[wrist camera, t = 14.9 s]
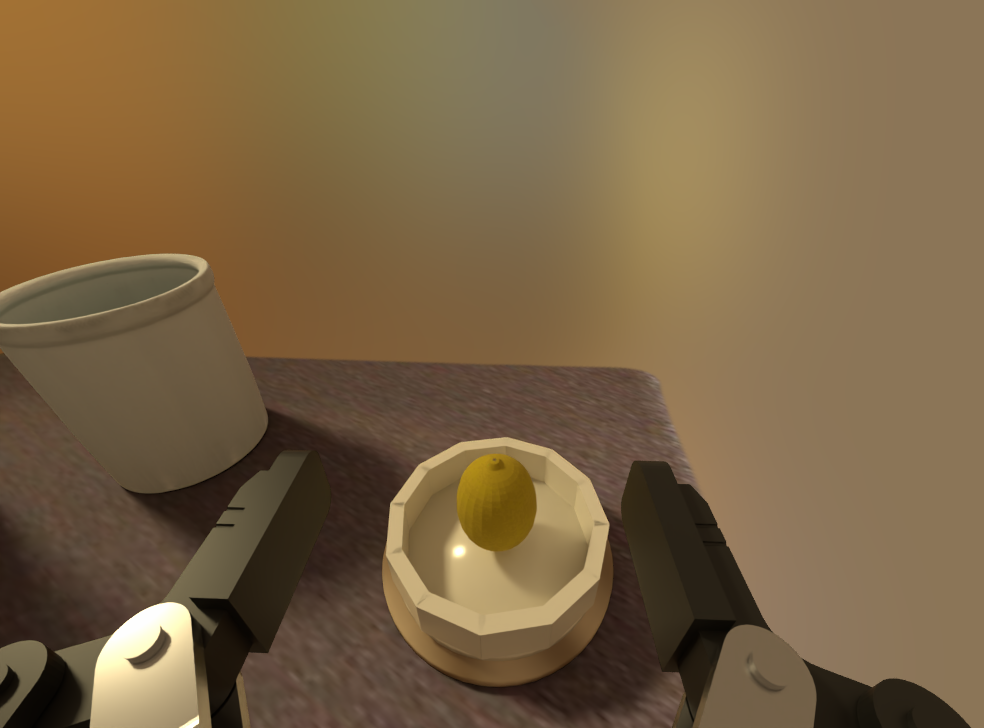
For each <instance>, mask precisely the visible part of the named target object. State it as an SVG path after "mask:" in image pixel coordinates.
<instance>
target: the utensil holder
mask: <svg viewBox="0 0 984 728" xmlns="http://www.w3.org/2000/svg"><path fill="white" fill-rule="evenodd" d="M0 348H1V349H2V351H3V352H4V353H5V354H6V356H7V357H8V358H9V359H10V360H11V362H12V363H13V364H14V365H15V366H16V368H17V369H18V370H19V371H20V372H21V374H22V375H23V376H24V377H25V378H26V379H27V381H28V382H29V383H30V384H31V385H32V387H33V388H34V389H35V390H36V391H37V392H38V394H39V395H40V396H41V397H42V398H43V399H44V400H45V402H46V403H47V404H48V405H49V406H50V407H51V408H52V410H53V411H54V412H55V413H56V414H57V416H58V417H59V418H60V419H61V420H62V422H63V423H64V424H65V425H66V426H67V427H68V429H69V430H70V431H71V432H72V433H73V434H74V436H75V437H76V438H77V439H78V440H79V441H80V442H81V444H82V445H83V446H84V447H85V448H86V449H87V450H88V451H89V453H90V454H91V455H92V456H93V457H94V458H95V459H96V460H97V461H98V462H99V463H100V464H101V466H102V467H103V468H104V469H105V470H106V471H107V472H108V473H109V474H110V475H111V477H112V478H113V479H114V480H115V481H116V482H117V483H118V484H119V485H121V486H122V487H124V488H125V489H127V490H130V491H133V492H138V493H162V492H167V491H172V490H177V489H181V488H184V487H188V486H191V485H194V484H197V483H199V482H202V481H204V480H206V479H208V478H211V477H213V476H215V475H217V474H219V473H221V472H222V471H224V470H226V469H228V468H229V467H231V466H232V465H234V464H235V463H237V462H238V461H239V460H241V459H242V458H243V457H244V456H246V455H247V454H248V453H249V452H250V451H251V450H252V449H253V448H254V447H255V446H256V445H257V444H258V442H259V441H260V440H261V438H262V437H263V435H264V433H265V431H266V429H267V425H268V415H267V411H266V408H265V406H264V403H263V400H262V398H261V395H260V392H259V390H258V387H257V384H256V381H255V379H254V376H253V374H252V371H251V369H250V366H249V364H248V362H247V359H246V357H245V355H244V352H243V350H242V348H241V346H240V343H239V341H238V339H237V336H236V334H235V331H234V329H233V326H232V324H231V322H230V319H229V317H228V315H227V313H226V310H225V308H224V306H223V304H222V301H221V299H220V297H219V295H218V292H217V290H216V288H215V285H214V275H213V272H212V270H211V267H210V266H209V264H208V263H207V262H206V261H205V260H204V259H202V258H200V257H196V256H192V255H184V254H151V255H142V256H133V257H125V258H119V259H112V260H107V261H101V262H96V263H91V264H87V265H82V266H78V267H73V268H70V269H66V270H62V271H58V272H55V273H51V274H48V275H45V276H42V277H39V278H35V279H33V280H30V281H27V282H24V283H22V284H19V285H16V286H14V287H11V288H9V289H7V290H5V291H2V292H0Z"/></svg>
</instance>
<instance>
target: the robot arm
mask: <svg viewBox="0 0 984 728" xmlns="http://www.w3.org/2000/svg"><path fill="white" fill-rule="evenodd" d="M330 503H331V489H330V485H329V483H328V480H327V477H326V474H325V471H324V468H323V465H322V462H321V459H320V456H319V454H318V452H316V451H313V450H284V451H282V452H281V453H280V454H279V455H278V457H277V458H276V460H275V462H274V463H273V465H272V466H271V468H270V470H269V471H259V472H258V473H257V474H256V475H254V476H253V477H252V478H251V479H250V480H249V481H247V482H246V483H245V484H244V485H243V486H242V487H240V489H239V490H238V492H237V493H236V495H235V496H234V498H233V499H232V501H231V502H230V504H229V505H228V507H227V511H224V513H223V514H222V516H221V517H220V519H219V520H218V521H217V523H216V527H215V528H213V529H212V530H211V532H210V533H209V535H208V536H207V538H206V539H205V541H204V542H203V544H202V545H201V547H200V548H199V550H198V551H197V553H196V554H195V555H194V557H193V558H192V560H191V561H190V563H189V564H188V566H187V567H186V569H185V570H184V572H183V573H182V575H181V576H180V578H179V579H178V581H177V582H176V584H175V585H174V587H173V588H172V589H171V591H170V592H169V594H168V595H167V596H166V598H165V599H164V600H163V601H162V602H161V603H160V604H158V605H155V606H152V607H150V608H148V609H146V610H144V611H142V612H140V613H138V614H137V615H135V616H134V617H132V618H131V619H130V620H128V621H127V622H126V623H125V624H123V625H122V626H121V627H120V628H119V629H118V630H117V631H116V632H115V633H114V634H113V635H110V636H106V637H103V638H100V639H96V640H93V641H89V642H86V643H82V644H79V645H75V646H72V647H68V648H65V649H62V650H58V651H55V652H54V651H52V650H51V649H49V648H48V647H46V646H45V645H44V644H42V643H41V642H38V641H33V640H27V641H20V642H16V643H13V644H10V645H7V646H5V647H3V648H1V649H0V728H251V727H250V721H249V715H248V708H247V702H246V696H245V690H244V683H243V677H242V673H241V671H240V670H241V668H242V666H243V664H244V661H245V659H246V657H247V655H248V653H249V652H254V653H268V652H269V649H270V647H271V645H272V642H273V640H274V638H275V635H276V633H277V631H278V628H279V626H280V624H281V621H282V619H283V617H284V614H285V612H286V610H287V607H288V605H289V603H290V600H291V598H292V596H293V593H294V591H295V589H296V586H297V584H298V582H299V579H300V577H301V575H302V572H303V570H304V568H305V565H306V563H307V561H308V558H309V556H310V554H311V551H312V549H313V547H314V544H315V542H316V540H317V537H318V535H319V533H320V530H321V528H322V526H323V523H324V521H325V519H326V516H327V514H328V511H329V508H330ZM621 514H622V521H623V526H624V529H625V533H626V537H627V541H628V544H629V548H630V552H631V556H632V560H633V563H634V567H635V571H636V575H637V578H638V582H639V586H640V590H641V594H642V597H643V601H644V605H645V609H646V612H647V616H648V620H649V624H650V627H651V631H652V635H653V639H654V643H655V646H656V650H657V654H658V658H659V661H660V665H661V669H662V672H679V673H680V676H681V679H682V683H683V686H684V689H685V692H684V694H683V696H682V699H681V702H680V705H679V708H678V711H677V714H676V717H675V720H674V723H673V726H672V728H971V727H970V726H969V725H968V724H967V723H966V722H965V721H964V719H963V718H962V717H961V716H960V715H959V714H958V713H957V712H956V711H954V710H953V709H952V708H951V707H950V706H949V705H948V704H947V703H945V702H944V701H943V700H941V699H940V698H939V697H937V696H936V695H935V694H933V693H931V692H930V691H928V690H926V689H925V688H923V687H921V686H918V685H917V684H914V683H912V682H908V681H906V680H901V679H886V680H883V681H882V682H880V683H878V684H877V685H875V686H874V687H870V686H868V685H865V684H862V683H860V682H857V681H854V680H852V679H849V678H846V677H843V676H841V675H838V674H836V673H833V672H830V671H828V670H825V669H823V668H820V667H818V666H815V665H813V664H811V663H809V662H807V661H805V660H804V659H802V658H801V657H800V656H799V655H798V654H797V652H796V651H795V650H794V649H793V648H792V647H791V646H790V645H789V644H787V643H786V642H785V641H784V640H783V639H781V638H780V637H779V636H777V635H776V634H774V633H773V632H772V631H771V630H770V628H769V627H768V625H767V624H766V622H765V620H764V619H763V617H762V615H761V613H760V611H759V609H758V607H757V605H756V603H755V600H754V598H753V596H752V594H751V592H750V590H749V588H748V586H747V584H746V582H745V580H744V578H743V576H742V574H741V571H740V569H739V567H738V565H737V563H736V561H735V559H734V557H733V555H732V553H731V551H730V549H729V547H727V546H726V540H725V539H724V536H723V534H722V532H721V530H720V528H718V527H717V522H716V520H715V518H714V516H713V514H712V512H711V509H710V507H709V505H708V503H707V502H706V501H705V500H704V499H703V498H702V497H701V496H700V495H699V494H698V492H697V491H696V490H695V489H694V488H693V487H692V486H691V485H690V484H677V481H676V479H675V477H674V474H673V472H672V470H671V468H670V466H669V464H668V463H667V462H664V461H634V462H633V464H632V466H631V470H630V473H629V476H628V480H627V483H626V487H625V490H624V493H623V497H622V502H621Z"/></svg>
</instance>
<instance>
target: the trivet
mask: <svg viewBox="0 0 984 728" xmlns="http://www.w3.org/2000/svg"><path fill="white" fill-rule="evenodd" d="M386 547H387V542H386V546H385V550H384V556H383V565H382V579H383V587H384V593H385V597H386V601H387V604H388V608H389V611H390V614H391V616H392V618H393V621H394V623H395V625H396V627H397V629H398V631H399V632H400V634H401V635H402V637H403V638H404V640H405V641H406V643H407V644H408V645H409V646H410V647H411V648H412V650H413V651H414V652H415V653H416V654H417V655H418V656H419V657H421V658H422V659H423V660H424V661H425V662H426V663H428V664H429V665H430V666H432V667H433V668H435V669H437V670H438V671H440V672H442V673H443V674H445V675H447V676H450V677H452V678H455V679H457V680H460V681H462V682H466V683H470V684H475V685H479V686H490V687H507V686H517V685H522V684H526V683H530V682H533V681H537V680H539V679H542V678H544V677H546V676H548V675H551V674H553V673H555V672H556V671H558V670H559V669H561V668H562V667H564V666H566V665H567V664H569V663H570V662H571V661H572V660H573V659H574V658H575V657H576V656H578V655H579V654H580V653H581V652H582V651H583V650H584V648H585V647H586V646H587V645H588V644H589V642H590V641H591V640H592V639H593V637H594V635H595V634H596V632H597V630H598V628H599V627H600V625H601V623H602V620H603V618H604V615H605V613H606V610H607V607H608V604H609V599H610V595H611V591H612V584H613V558H612V553H611V548H610V543H609V540H608V537H607V541H606V547H605V552H604V558H603V563H602V569H601V574H600V580H599V584H598V588H597V592H596V597H595V601H594V605H593V606H592V607H591V608H590V609H589V610H588V611H587V612H586V613H585V615H584V616H583V618H582V619H581V621H580V622H579V623H578V624H577V625H576V627H575V628H574V629H573V630H572V631H571V632H570V633H569V634H568V635H567V636H565V637H564V638H563V639H562V640H561V641H560V642H558V643H556V644H555V645H553V646H551V647H550V648H548V649H547V650H544V651H542V652H540V653H537V654H535V655H533V656H529V657H525V658H521V659H517V660H509V661H484V660H479V659H474V658H470V657H466V656H463V655H461V654H458V653H455V652H453V651H451V650H449V649H447V648H446V647H444V646H442V645H440V644H439V643H437V642H436V641H435V640H434V639H432V638H431V637H430V636H429V635H427V634H426V633H424V632H422V631H421V629H420V627H419V625H418V624H417V623H416V622H415V620H414V619H413V617H412V616H411V614H410V613H409V611H408V609H407V607H406V605H405V603H404V601H403V599H402V596H401V594H400V592H399V590H398V589H397V587H396V585H395V583H394V582H393V579H392V576H391V572H390V568H389V565H388V561H387V558H386Z"/></svg>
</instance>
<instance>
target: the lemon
mask: <svg viewBox="0 0 984 728" xmlns="http://www.w3.org/2000/svg"><path fill="white" fill-rule="evenodd" d="M536 512H537V501H536V491H535V487H534V484H533V482H532V479H531V477H530V475H529V473H528V471H527V470H526V468H525V467H524V466H523V465H522V464H521V463H520V462H519V461H517V460H516V459H514V458H512V457H510V456H508V455H504V454H487V455H484V456H481V457H479V458H478V459H476V460H474V461H473V462H472V463H471V464H470V465H469V466H468V467H467V468H466V470H465V471H464V473H463V474H462V477H461V480H460V483H459V486H458V490H457V514H458V518H459V521H460V524H461V527H462V529H463V531H464V532H465V534H466V535H467V536H468V538H469V539H470V540H471V541H472V542H473V543H475V544H476V545H477V546H479V547H481V548H483V549H485V550H488V551H494V552H498V551H506V550H509V549H512V548H514V547H516V546H517V545H519V544H520V543H521V542H522V541H523V540H524V539H525V538H526V537H527V536H528V534H529V532H530V531H531V529H532V527H533V524H534V520H535V516H536Z"/></svg>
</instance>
